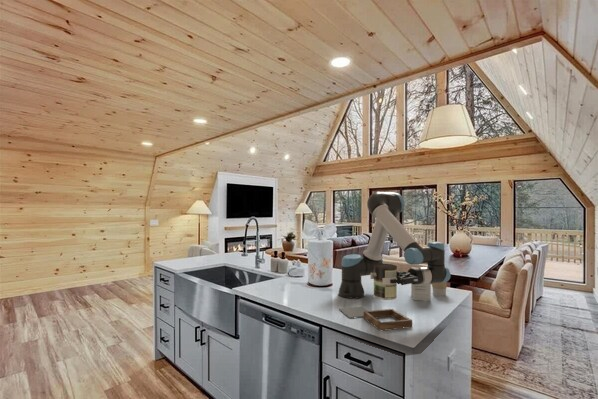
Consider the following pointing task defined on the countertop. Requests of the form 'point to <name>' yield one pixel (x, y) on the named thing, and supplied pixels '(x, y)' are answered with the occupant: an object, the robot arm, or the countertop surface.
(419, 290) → the supplement box
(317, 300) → the countertop surface
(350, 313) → the mat
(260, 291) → the countertop surface
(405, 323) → the brown wooden square frame
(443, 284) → the coffee cup
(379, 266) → the coffee can
